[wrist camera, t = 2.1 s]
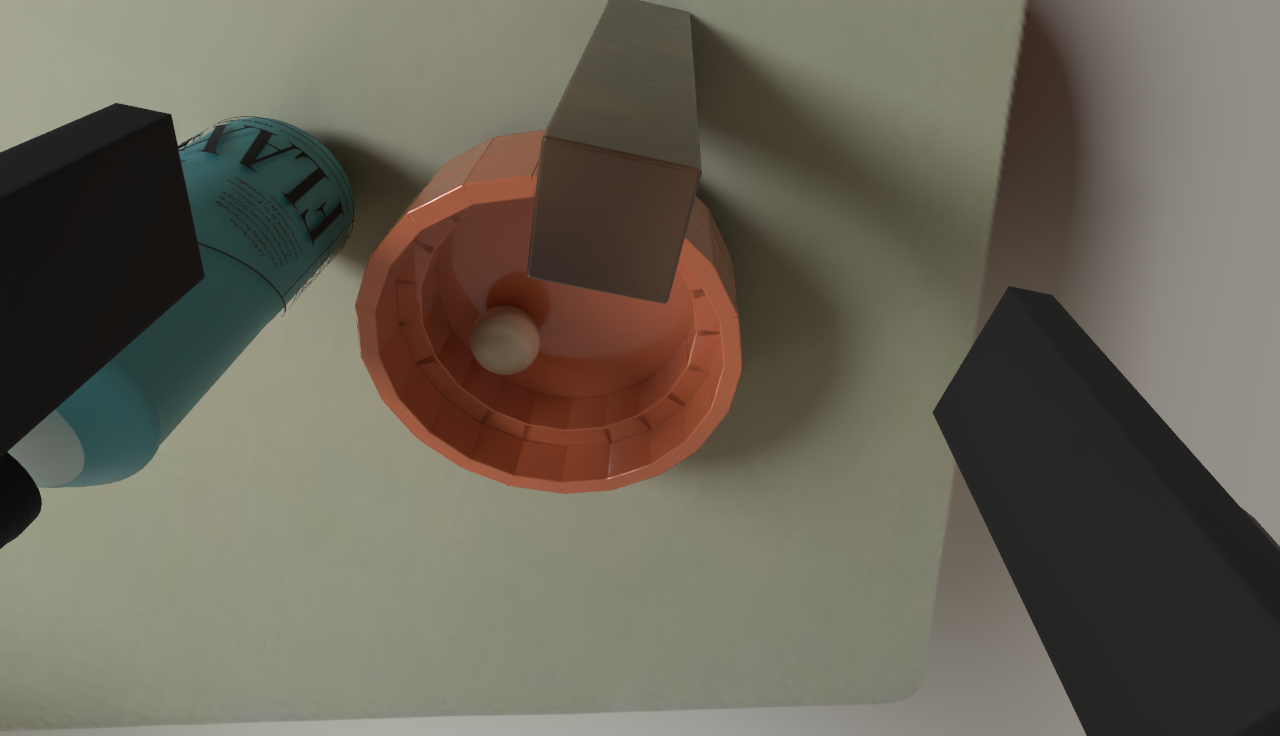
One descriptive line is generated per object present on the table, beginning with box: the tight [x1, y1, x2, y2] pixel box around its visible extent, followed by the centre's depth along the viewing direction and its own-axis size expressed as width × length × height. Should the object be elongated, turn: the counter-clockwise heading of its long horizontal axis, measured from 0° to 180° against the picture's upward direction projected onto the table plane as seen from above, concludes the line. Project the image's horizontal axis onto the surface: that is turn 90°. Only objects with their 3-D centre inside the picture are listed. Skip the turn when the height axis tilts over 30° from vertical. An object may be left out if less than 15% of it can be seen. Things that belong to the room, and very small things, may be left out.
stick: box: [527, 0, 702, 304], centre depth 20 cm, size 3×3×16 cm
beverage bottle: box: [0, 116, 354, 549], centre depth 22 cm, size 6×7×20 cm
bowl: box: [355, 130, 743, 494], centre depth 30 cm, size 16×16×6 cm
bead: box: [470, 306, 541, 375], centre depth 31 cm, size 3×3×3 cm
